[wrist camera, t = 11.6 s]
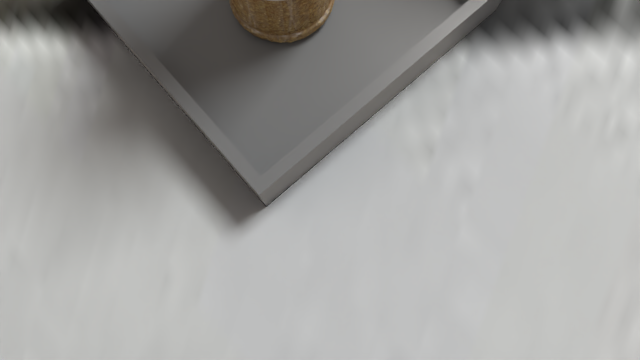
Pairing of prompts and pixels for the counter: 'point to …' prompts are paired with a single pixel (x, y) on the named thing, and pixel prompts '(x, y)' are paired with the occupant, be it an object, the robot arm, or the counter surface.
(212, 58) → the tray
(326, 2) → the sprinkles bottle
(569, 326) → the counter surface
